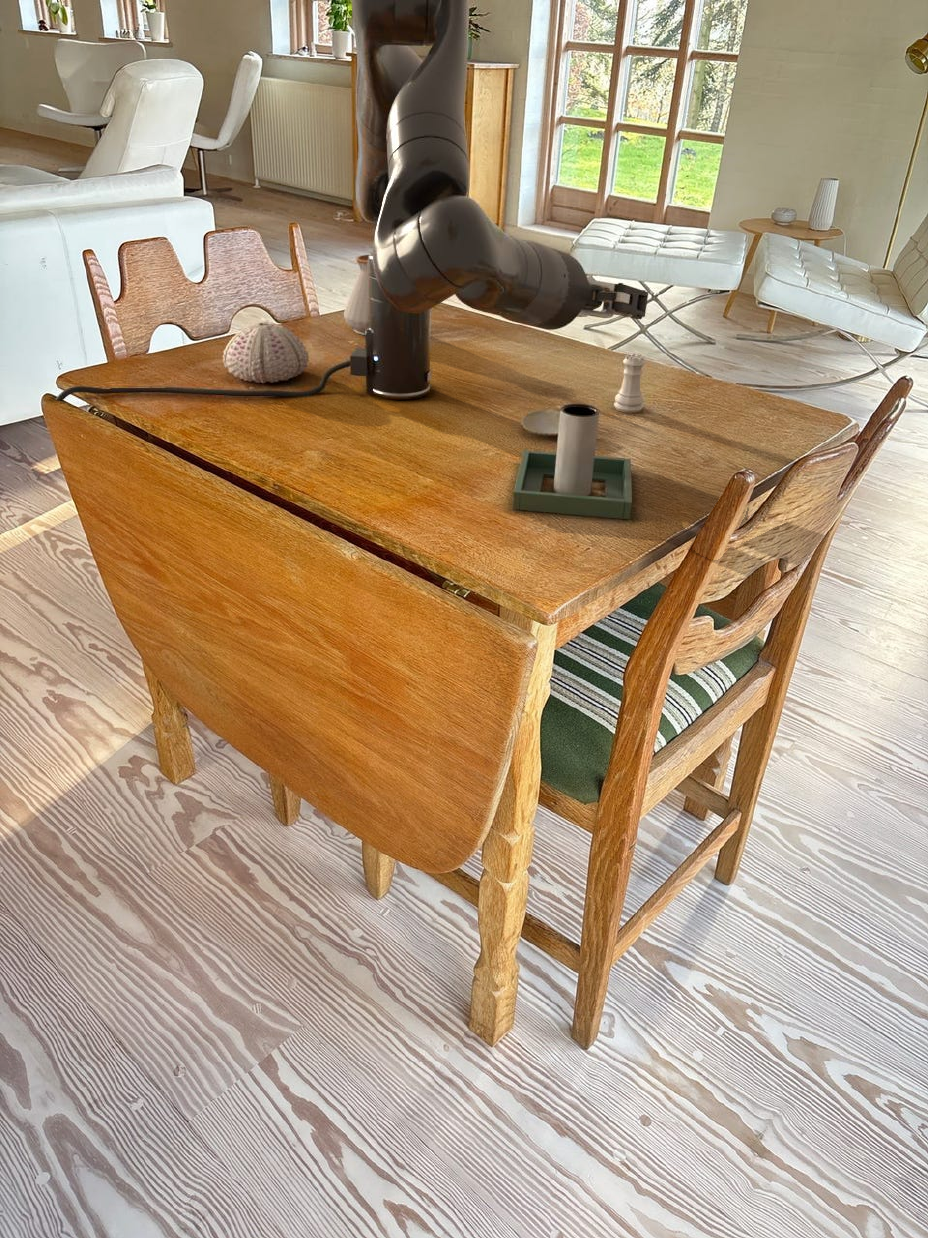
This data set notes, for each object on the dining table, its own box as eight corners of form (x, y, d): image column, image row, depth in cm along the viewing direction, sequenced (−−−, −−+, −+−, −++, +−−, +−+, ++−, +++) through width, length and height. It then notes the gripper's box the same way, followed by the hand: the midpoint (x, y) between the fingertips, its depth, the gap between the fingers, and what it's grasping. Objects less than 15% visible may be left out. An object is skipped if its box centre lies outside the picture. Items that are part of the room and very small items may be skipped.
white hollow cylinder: (550, 483, 118) (557, 403, 113) (586, 483, 119) (595, 403, 113) (556, 499, 114) (564, 416, 109) (593, 498, 115) (603, 416, 109)
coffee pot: (333, 326, 178) (330, 241, 171) (387, 320, 184) (386, 237, 176) (389, 356, 163) (389, 264, 156) (446, 347, 169) (448, 258, 161)
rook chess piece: (642, 414, 142) (649, 361, 137) (612, 411, 142) (618, 358, 138) (643, 405, 145) (650, 352, 141) (614, 402, 146) (620, 350, 142)
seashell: (514, 440, 136) (543, 445, 129) (509, 419, 135) (539, 423, 128) (562, 422, 139) (593, 427, 132) (558, 401, 137) (589, 405, 131)
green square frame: (512, 509, 111) (513, 492, 110) (522, 465, 123) (523, 449, 122) (629, 519, 110) (632, 502, 109) (628, 474, 122) (630, 458, 120)
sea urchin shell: (241, 392, 144) (236, 338, 140) (213, 368, 154) (208, 317, 150) (323, 381, 150) (320, 329, 146) (290, 358, 160) (287, 309, 156)
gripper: (604, 245, 89) (670, 273, 102) (477, 242, 96) (554, 269, 109) (592, 329, 90) (659, 346, 104) (468, 320, 98) (545, 337, 111)
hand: (605, 306), depth 106 cm, fingers open, 8 cm apart
